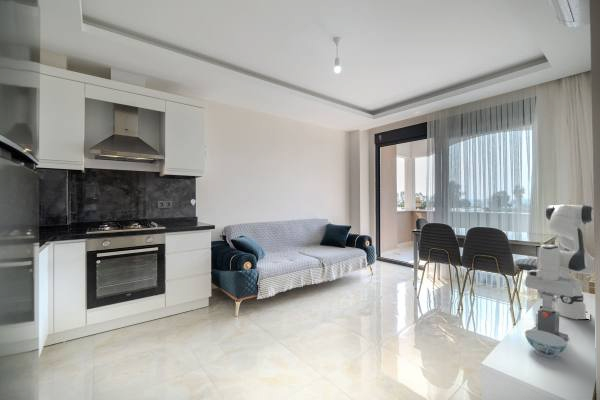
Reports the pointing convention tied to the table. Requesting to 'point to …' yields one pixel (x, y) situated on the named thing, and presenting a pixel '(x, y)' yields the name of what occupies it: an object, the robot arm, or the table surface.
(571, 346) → the table surface
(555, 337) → the chinaware
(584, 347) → the table surface
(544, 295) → the column
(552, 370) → the table surface
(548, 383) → the table surface
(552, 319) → the stand base
